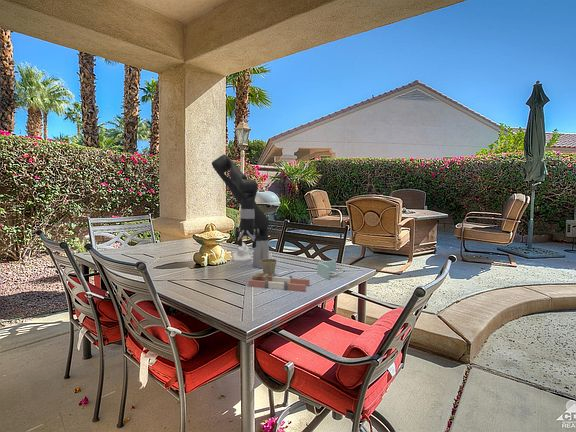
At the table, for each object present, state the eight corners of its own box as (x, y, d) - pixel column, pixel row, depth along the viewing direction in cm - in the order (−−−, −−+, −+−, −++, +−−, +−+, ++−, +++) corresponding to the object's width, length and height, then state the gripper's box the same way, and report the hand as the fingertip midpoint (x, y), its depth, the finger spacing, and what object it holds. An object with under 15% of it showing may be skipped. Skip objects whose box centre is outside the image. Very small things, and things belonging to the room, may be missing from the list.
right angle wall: (328, 280, 168) (328, 267, 168) (317, 274, 179) (317, 262, 178) (346, 278, 173) (346, 265, 172) (334, 272, 184) (335, 260, 183)
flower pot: (280, 274, 179) (279, 259, 178) (272, 278, 170) (272, 263, 169) (265, 272, 183) (265, 258, 182) (257, 276, 174) (257, 261, 173)
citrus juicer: (256, 261, 214) (258, 243, 210) (239, 267, 204) (241, 248, 199) (245, 254, 222) (247, 236, 217) (228, 260, 211) (229, 241, 207)
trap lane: (247, 286, 157) (247, 278, 156) (255, 280, 168) (255, 272, 167) (305, 292, 149) (305, 283, 148) (309, 284, 160) (309, 277, 159)
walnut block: (252, 285, 159) (252, 276, 159) (256, 282, 165) (256, 272, 164) (264, 286, 157) (264, 277, 157) (269, 283, 163) (269, 274, 162)
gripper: (232, 216, 163) (232, 246, 165) (255, 218, 157) (254, 249, 159) (240, 215, 170) (240, 244, 172) (262, 217, 164) (262, 247, 166)
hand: (247, 247), depth 165 cm, fingers open, 8 cm apart
